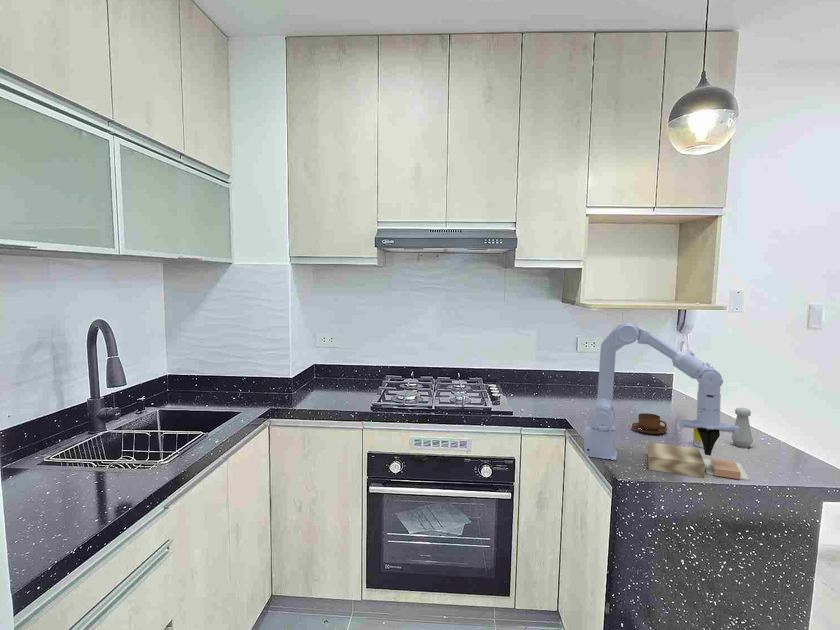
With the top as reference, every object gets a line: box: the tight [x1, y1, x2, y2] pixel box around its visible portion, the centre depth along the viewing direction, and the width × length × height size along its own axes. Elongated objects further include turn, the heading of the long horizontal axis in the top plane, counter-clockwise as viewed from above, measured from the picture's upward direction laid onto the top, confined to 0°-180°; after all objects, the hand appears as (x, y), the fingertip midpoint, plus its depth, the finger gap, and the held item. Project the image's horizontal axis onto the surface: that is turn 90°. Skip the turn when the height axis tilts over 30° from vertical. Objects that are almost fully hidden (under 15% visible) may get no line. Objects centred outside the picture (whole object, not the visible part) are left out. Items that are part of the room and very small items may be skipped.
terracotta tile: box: [710, 457, 742, 480], centre depth 127 cm, size 6×9×2 cm, turn 153°
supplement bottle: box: [692, 428, 708, 449], centre depth 150 cm, size 6×6×10 cm
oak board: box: [647, 441, 706, 479], centre depth 133 cm, size 14×14×4 cm
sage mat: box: [703, 458, 750, 481], centre depth 130 cm, size 10×13×1 cm
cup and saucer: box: [631, 412, 668, 435], centre depth 167 cm, size 12×12×6 cm
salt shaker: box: [731, 407, 754, 449], centre depth 150 cm, size 6×6×13 cm
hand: (707, 454), depth 129 cm, fingers closed
